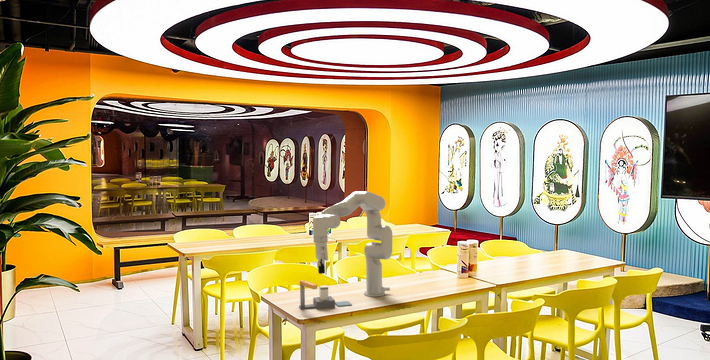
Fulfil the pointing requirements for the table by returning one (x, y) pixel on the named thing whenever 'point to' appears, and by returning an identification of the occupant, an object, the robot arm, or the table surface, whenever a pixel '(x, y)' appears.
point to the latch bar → (308, 284)
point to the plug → (323, 292)
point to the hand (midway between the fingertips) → (321, 273)
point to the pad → (343, 303)
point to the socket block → (315, 301)
